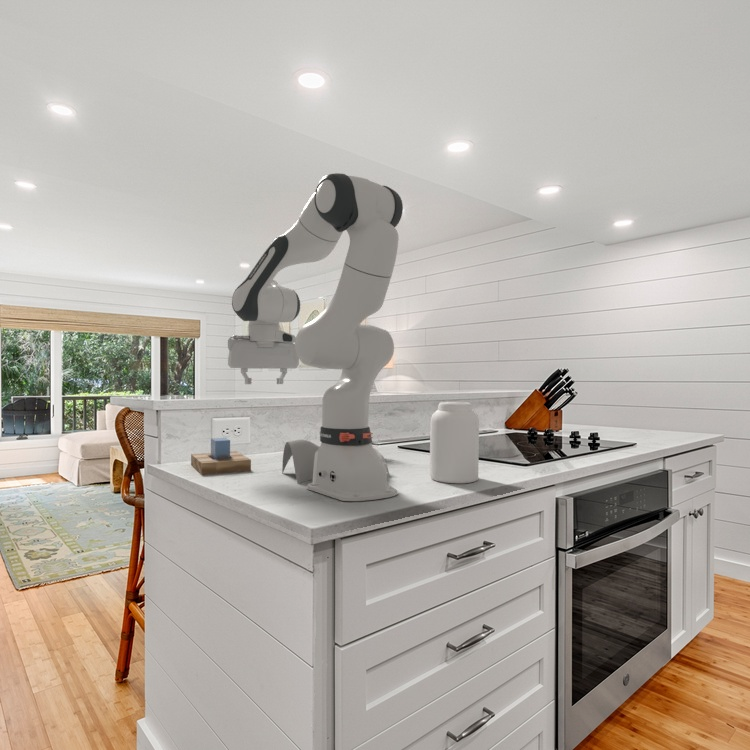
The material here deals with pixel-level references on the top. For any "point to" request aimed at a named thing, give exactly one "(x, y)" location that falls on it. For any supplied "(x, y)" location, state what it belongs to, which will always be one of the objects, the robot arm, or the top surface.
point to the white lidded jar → (454, 443)
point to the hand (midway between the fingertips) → (264, 384)
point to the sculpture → (305, 458)
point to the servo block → (220, 448)
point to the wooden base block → (220, 463)
